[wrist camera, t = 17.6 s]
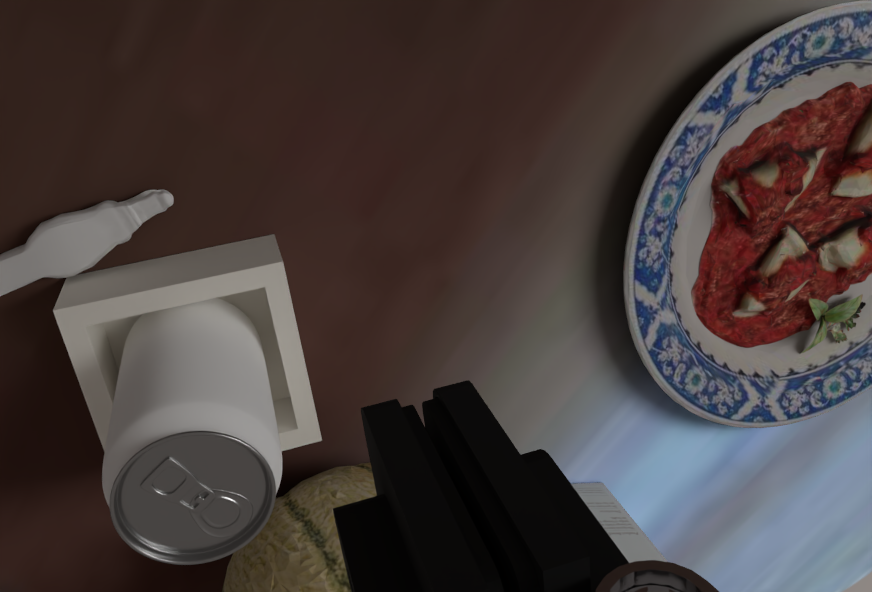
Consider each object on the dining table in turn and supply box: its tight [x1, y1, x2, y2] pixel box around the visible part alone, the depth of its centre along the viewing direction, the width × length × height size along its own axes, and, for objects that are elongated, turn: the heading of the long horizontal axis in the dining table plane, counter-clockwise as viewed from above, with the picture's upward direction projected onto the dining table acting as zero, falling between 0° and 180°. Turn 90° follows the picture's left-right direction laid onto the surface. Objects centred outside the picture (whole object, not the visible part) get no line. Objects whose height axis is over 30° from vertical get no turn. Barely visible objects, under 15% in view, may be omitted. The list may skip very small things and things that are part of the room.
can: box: [102, 298, 282, 565], centre depth 32 cm, size 6×6×12 cm
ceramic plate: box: [623, 1, 872, 428], centre depth 45 cm, size 26×26×3 cm
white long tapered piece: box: [0, 190, 174, 296], centre depth 34 cm, size 15×3×2 cm, turn 113°
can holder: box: [53, 234, 322, 452], centre depth 37 cm, size 10×10×4 cm
